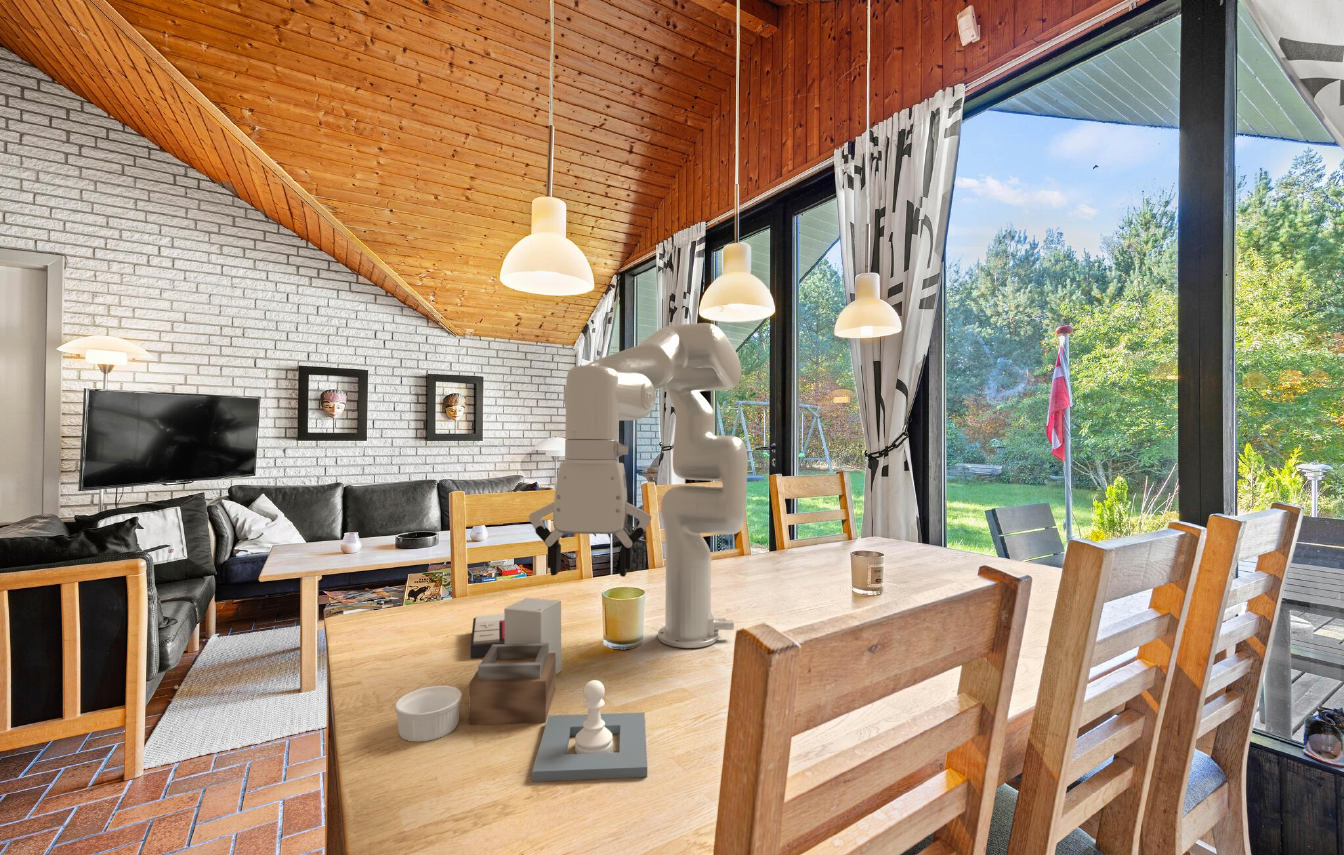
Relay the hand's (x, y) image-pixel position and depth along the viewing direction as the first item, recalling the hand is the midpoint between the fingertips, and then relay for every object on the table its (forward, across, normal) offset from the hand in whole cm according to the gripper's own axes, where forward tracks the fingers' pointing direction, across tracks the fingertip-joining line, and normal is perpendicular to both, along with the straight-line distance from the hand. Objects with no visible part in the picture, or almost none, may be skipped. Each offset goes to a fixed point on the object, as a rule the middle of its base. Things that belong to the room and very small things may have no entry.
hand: (589, 573), depth 81 cm
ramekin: (+23, +23, -2) cm, 33 cm away
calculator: (+23, +24, -36) cm, 49 cm away
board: (+23, -2, +3) cm, 23 cm away
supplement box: (+22, +13, -20) cm, 33 cm away
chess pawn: (+23, -2, +3) cm, 23 cm away
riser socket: (+22, +13, -9) cm, 27 cm away
